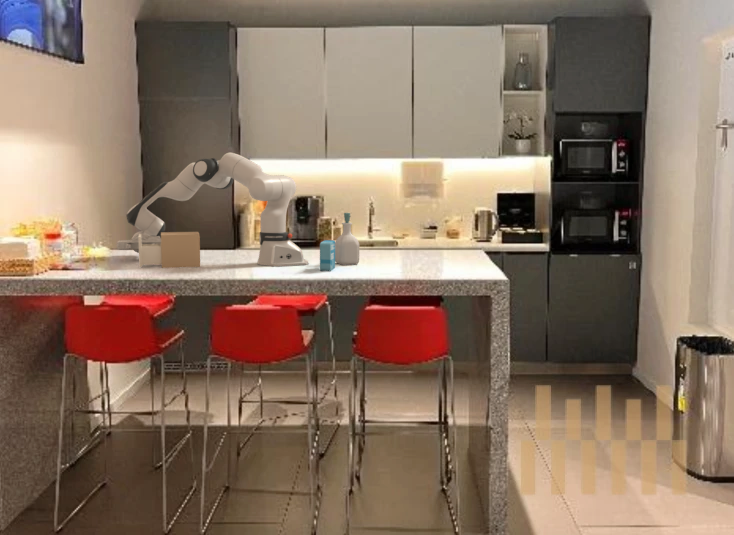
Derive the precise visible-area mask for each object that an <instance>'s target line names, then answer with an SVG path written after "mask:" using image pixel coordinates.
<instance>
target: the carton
mask: <svg viewBox="0 0 734 535" xmlns="http://www.w3.org/2000/svg"><path fill="white" fill-rule="evenodd" d="M160 238H161V255H162V264H161V269H172V268H179V269H180V268H201V240H200V238H201V236H200V233H199V231H170V232H169V231H167V232H165V231H164V232H161V237H160Z"/></svg>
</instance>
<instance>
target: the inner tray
mask: <svg viewBox="0 0 734 535" xmlns="http://www.w3.org/2000/svg"><path fill="white" fill-rule="evenodd" d="M138 241H139V253H138V266H139V267H138V268H142V266H152V265H153V266H154V265H161V266H162V255H161V244H142V235H141V234H139V236H138Z"/></svg>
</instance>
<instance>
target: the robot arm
mask: <svg viewBox="0 0 734 535" xmlns="http://www.w3.org/2000/svg"><path fill="white" fill-rule="evenodd" d="M234 181H236V182H237V183H239V184H240V185H243V186H244V187H246V189H248V194H249V196H250V197H251V198H252V199H253V200H257V201H260V202H261V201H262V202H266V205H265V208H264V209H263V211H262V212H261V213H260V232H259V240H258V241H259V245H260V246H259V253H258V254H259V255H258V259H257V263H256V264H257V265H260V266H261V265H262V266H271V267H285V266H286V267H287V266H288V267H289V266H305V265H307V266H308V265H309V260H307V259H304V254H303V250H302V249H301V248H300V247H299V246H298V245H297V244H295V243H294V242H293V241H291V239H292V237H293V234H292V233H291V232H290V233H289V232H288V231H286V230H287V224H286V223H287V211H288V208H289V204H290V201H291V199H292V197H293V196H294V195H295V194H296V192H297V183H296V181H295V180H294V178H292V177H291V176H287V175H284V174H283V175H282V174H278V175H277V174H276V175H275V174H274V175H273V174H267V173H265V172H264V171H263V169H262V167H261V165H259V164H258V163H255V162H253V161H252V160H250V159H248V158H247V157H244V156H243V155H240V154H237V153H234V152H227V153H225V154H223V156H222V157H221V158H220V159H219V160H217V158H214V157H213V158H200V159H198V160H197V161H196V162H191V163H189V164H188V165H187V166H186V167H184V169H183V170H182V171H180V173H179V174H178V175H177V176H176V177H175V178H174V179H173V180H171V181H163V182H162V183H159V185H158V186H157V187H155V188H154V189H152V190H151V191H150V192H149V193H148V194H147V195H146V196H145V197H143V198H142V199H141V200H140V201H139V202H138V203H136V204H135V205H133V206H132V207H130V208H129V210H128V211H127V213H126V214H125V215H126V217H125V218H126V220H127V222H128V224H130V225H132V226H133V227H135V228H136V229H138V230H139V231H137V232H135V233H134V234H133V235H132V237H131V239H123V240H122V239H120V240H117V241H116V249H117V250H118V251H120V250H123V251H125V250H126V251H127V250H128V251H129V250H133V251H134V252H136V253H137V254H139V241H138V236H139V234H141V235H142V244H161V232H165V231H166V222H165V221H163V220H162V218H160V217H158V216H156V214H154V213H153V212H151V211H150V210H149V209H147V208H148V207H149V206H150V205H152V203H154V202H155V201H156V200H158V198H168V199H172V200H174V201H177V202H178V201H180V202H185V201H188V200H190V199H192V198H193V197H194V195H195V194H196V193H197V192H198V191H199V190H200V188H201V187H202V186H203V185H206V186H209V187H212V188H216V189H217V190H226V189H229V188H230V187H231V186H232V185H233V183H234Z"/></svg>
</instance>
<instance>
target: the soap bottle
mask: <svg viewBox="0 0 734 535" xmlns="http://www.w3.org/2000/svg"><path fill="white" fill-rule="evenodd" d="M343 217H344V218H343V220H344V221H345V222H341V224H342V227H343V229H342V230H343V231H342V233H341V235H339V236H338V237H337V238H336V240H335V264H339V265H341V266H347V265H348V266H349V265H351V266H352V265H353V266H354V265H358V264H359V262H360V242H359V240H358V239H357V237H356V236H355V235H354V234H352V231H351V230H352V225H353V222H350V219H351V213H350V212H344V213H343Z"/></svg>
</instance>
